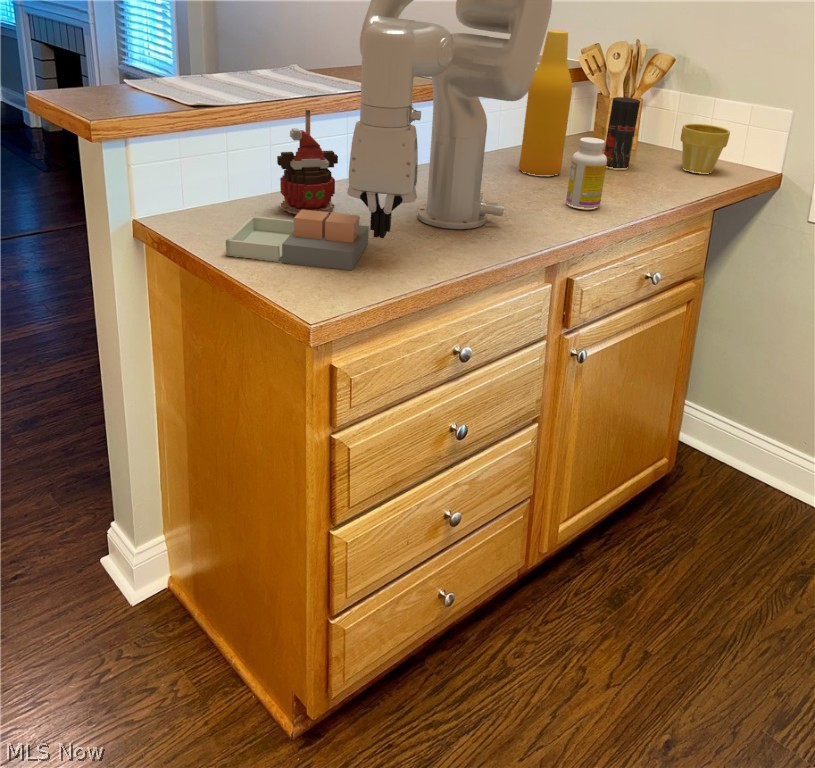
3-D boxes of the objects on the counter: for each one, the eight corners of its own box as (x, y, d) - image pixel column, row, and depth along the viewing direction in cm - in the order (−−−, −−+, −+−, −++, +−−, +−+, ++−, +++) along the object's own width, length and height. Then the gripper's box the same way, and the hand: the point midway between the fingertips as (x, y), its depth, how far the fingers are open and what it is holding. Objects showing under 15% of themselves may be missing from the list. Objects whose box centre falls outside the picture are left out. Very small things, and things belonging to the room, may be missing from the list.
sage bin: (300, 236, 146) (300, 221, 145) (278, 262, 135) (278, 246, 134) (252, 230, 147) (251, 215, 146) (226, 256, 136) (225, 240, 135)
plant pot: (708, 165, 207) (718, 123, 202) (728, 177, 198) (738, 134, 193) (667, 164, 205) (675, 122, 200) (685, 176, 196) (694, 132, 191)
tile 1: (328, 230, 141) (328, 212, 139) (321, 239, 137) (322, 220, 135) (301, 227, 141) (301, 209, 140) (294, 236, 137) (294, 217, 136)
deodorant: (630, 171, 197) (642, 103, 190) (604, 169, 197) (615, 101, 190) (625, 164, 203) (637, 98, 195) (599, 163, 203) (610, 96, 195)
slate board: (368, 243, 145) (368, 226, 143) (351, 270, 134) (352, 251, 132) (303, 236, 146) (303, 219, 145) (282, 262, 135) (282, 244, 134)
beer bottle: (531, 164, 198) (548, 27, 184) (567, 172, 193) (588, 32, 180) (510, 171, 191) (527, 30, 177) (548, 180, 187) (568, 35, 173)
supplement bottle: (606, 207, 171) (617, 141, 165) (587, 213, 167) (598, 146, 161) (577, 199, 175) (587, 134, 169) (558, 204, 171) (568, 138, 165)
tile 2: (359, 233, 140) (359, 215, 139) (353, 242, 136) (353, 224, 135) (331, 230, 140) (332, 212, 139) (325, 239, 137) (325, 221, 135)
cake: (329, 202, 164) (330, 103, 156) (343, 217, 156) (345, 114, 148) (273, 204, 161) (271, 104, 152) (284, 220, 153) (283, 115, 144)
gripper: (438, 115, 131) (430, 232, 140) (341, 106, 132) (338, 223, 141) (432, 125, 124) (423, 248, 133) (330, 116, 126) (328, 237, 135)
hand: (380, 235), depth 137 cm, fingers closed
